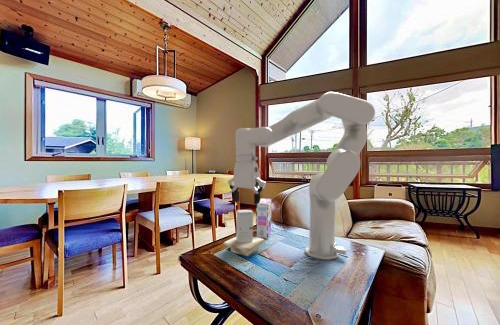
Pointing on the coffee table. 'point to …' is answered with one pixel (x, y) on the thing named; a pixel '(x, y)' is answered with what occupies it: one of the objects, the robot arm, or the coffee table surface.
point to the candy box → (263, 218)
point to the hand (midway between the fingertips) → (246, 202)
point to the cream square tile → (244, 245)
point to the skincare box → (244, 226)
